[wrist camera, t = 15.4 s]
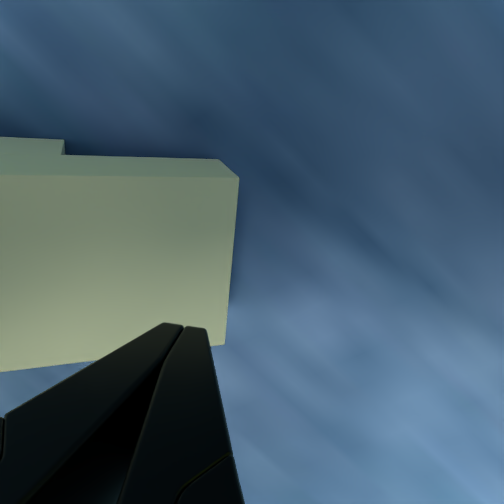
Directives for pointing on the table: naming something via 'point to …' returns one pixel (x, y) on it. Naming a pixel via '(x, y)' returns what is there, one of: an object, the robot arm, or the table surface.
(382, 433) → the table surface
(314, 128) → the table surface
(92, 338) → the domino
